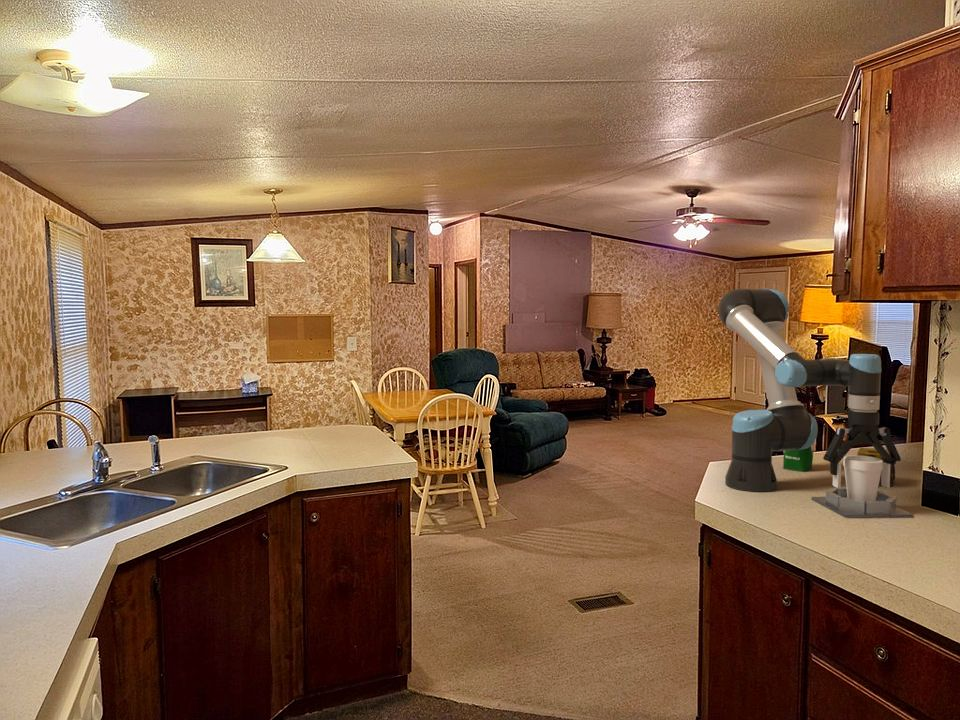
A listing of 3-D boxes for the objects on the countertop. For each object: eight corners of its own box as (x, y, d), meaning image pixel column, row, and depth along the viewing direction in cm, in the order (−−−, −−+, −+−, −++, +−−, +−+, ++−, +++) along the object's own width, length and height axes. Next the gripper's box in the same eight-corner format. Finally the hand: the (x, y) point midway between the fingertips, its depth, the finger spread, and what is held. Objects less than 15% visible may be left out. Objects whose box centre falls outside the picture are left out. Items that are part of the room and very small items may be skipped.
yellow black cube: (895, 481, 219) (896, 450, 218) (893, 487, 210) (894, 455, 210) (858, 476, 224) (860, 447, 224) (856, 483, 216) (857, 452, 215)
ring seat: (846, 518, 179) (846, 503, 179) (811, 499, 197) (811, 486, 197) (913, 517, 179) (914, 503, 179) (872, 499, 197) (873, 486, 197)
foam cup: (886, 511, 182) (888, 463, 182) (848, 508, 184) (850, 461, 184) (873, 501, 192) (875, 456, 191) (837, 499, 194) (839, 454, 193)
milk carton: (815, 468, 236) (817, 411, 234) (804, 472, 230) (806, 414, 228) (790, 464, 242) (791, 409, 241) (779, 468, 236) (780, 411, 235)
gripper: (825, 412, 182) (823, 490, 184) (917, 412, 183) (914, 489, 184) (811, 408, 190) (809, 483, 191) (899, 408, 190) (896, 482, 192)
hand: (860, 486), depth 188 cm, fingers open, 13 cm apart
